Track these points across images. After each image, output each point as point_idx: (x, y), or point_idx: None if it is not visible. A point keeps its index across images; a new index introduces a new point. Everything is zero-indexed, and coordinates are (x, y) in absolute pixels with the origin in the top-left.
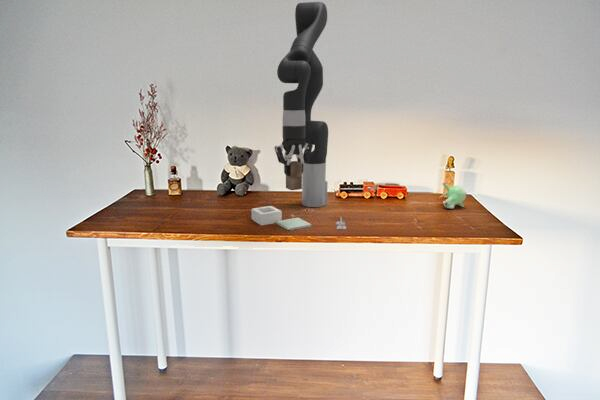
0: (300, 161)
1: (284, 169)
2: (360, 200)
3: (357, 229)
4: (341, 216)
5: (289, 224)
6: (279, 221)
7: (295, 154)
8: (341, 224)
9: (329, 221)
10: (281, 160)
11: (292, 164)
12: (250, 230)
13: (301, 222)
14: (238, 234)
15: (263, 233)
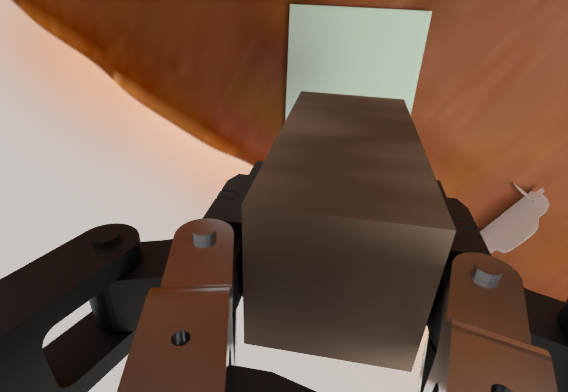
0: (425, 351)
1: (216, 205)
2: None
3: (524, 267)
4: (513, 248)
5: (318, 90)
6: (303, 17)
7: (445, 352)
8: (487, 240)
9: (534, 129)
10: (78, 341)
11: (259, 338)
12: (144, 31)
13: (385, 97)
14: (87, 51)
15: (182, 99)
